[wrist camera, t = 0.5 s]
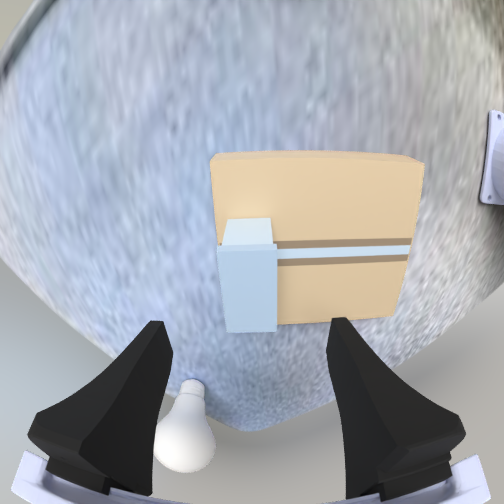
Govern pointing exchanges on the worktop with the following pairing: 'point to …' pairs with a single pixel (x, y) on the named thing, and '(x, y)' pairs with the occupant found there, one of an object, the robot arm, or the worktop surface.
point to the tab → (248, 276)
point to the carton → (326, 225)
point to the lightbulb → (185, 432)
